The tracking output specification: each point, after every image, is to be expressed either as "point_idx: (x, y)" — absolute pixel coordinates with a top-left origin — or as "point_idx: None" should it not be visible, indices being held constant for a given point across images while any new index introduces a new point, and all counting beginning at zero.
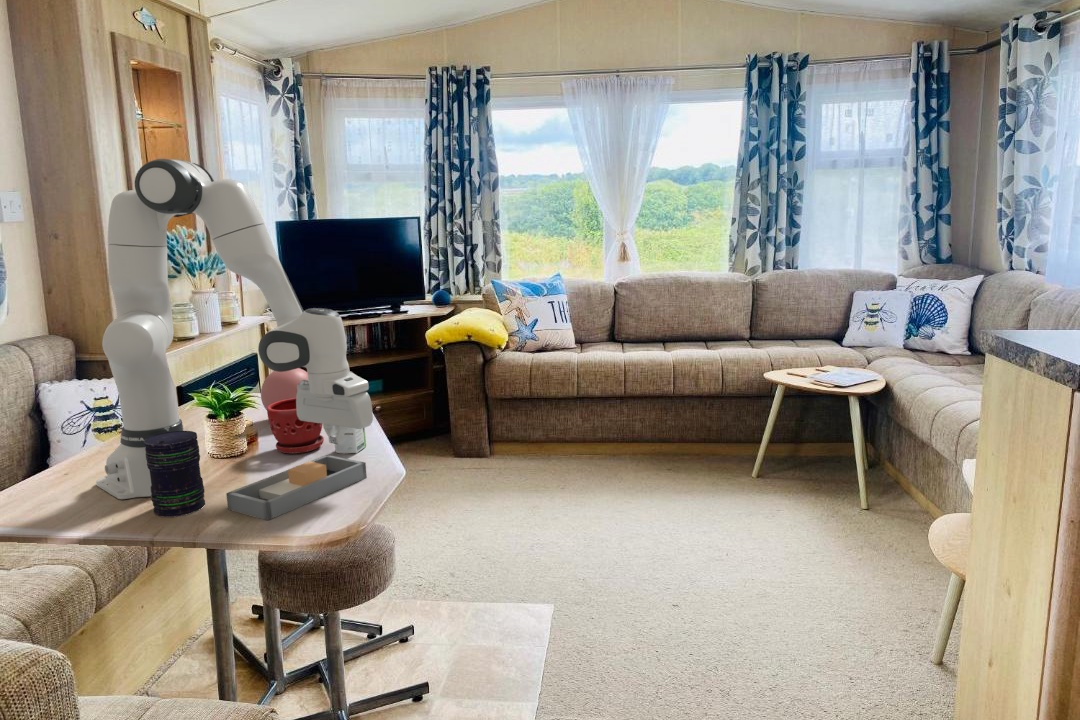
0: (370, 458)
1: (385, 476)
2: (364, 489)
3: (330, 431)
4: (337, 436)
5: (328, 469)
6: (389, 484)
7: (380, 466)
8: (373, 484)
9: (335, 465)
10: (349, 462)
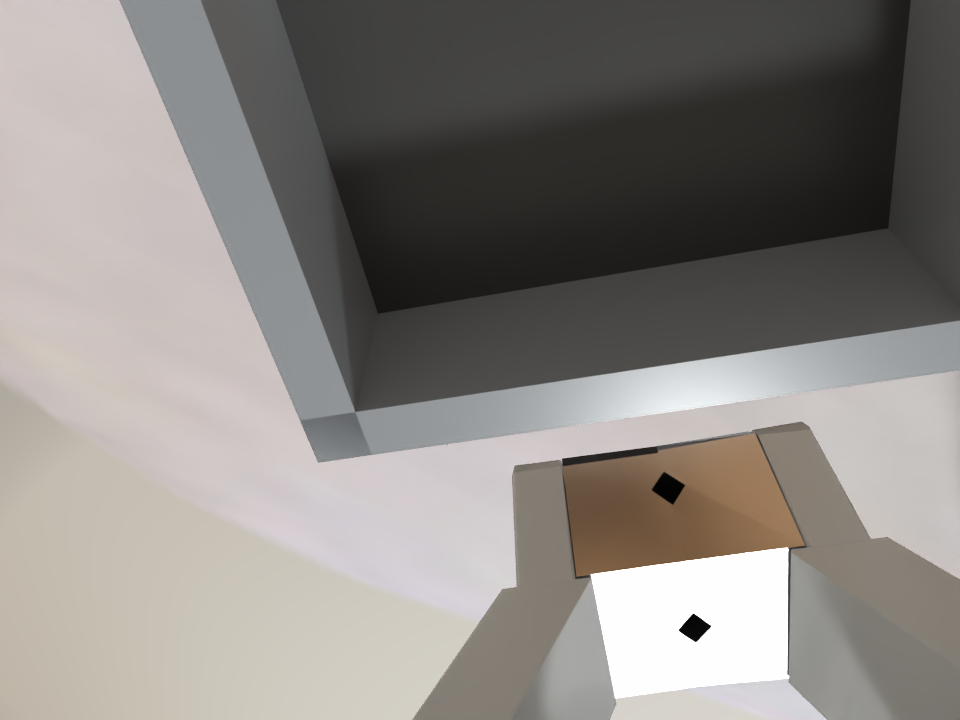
0: None
1: (249, 456)
2: (7, 142)
3: (886, 680)
4: (515, 603)
5: (885, 232)
6: (9, 370)
7: None
8: (106, 285)
9: (774, 290)
10: (526, 376)
